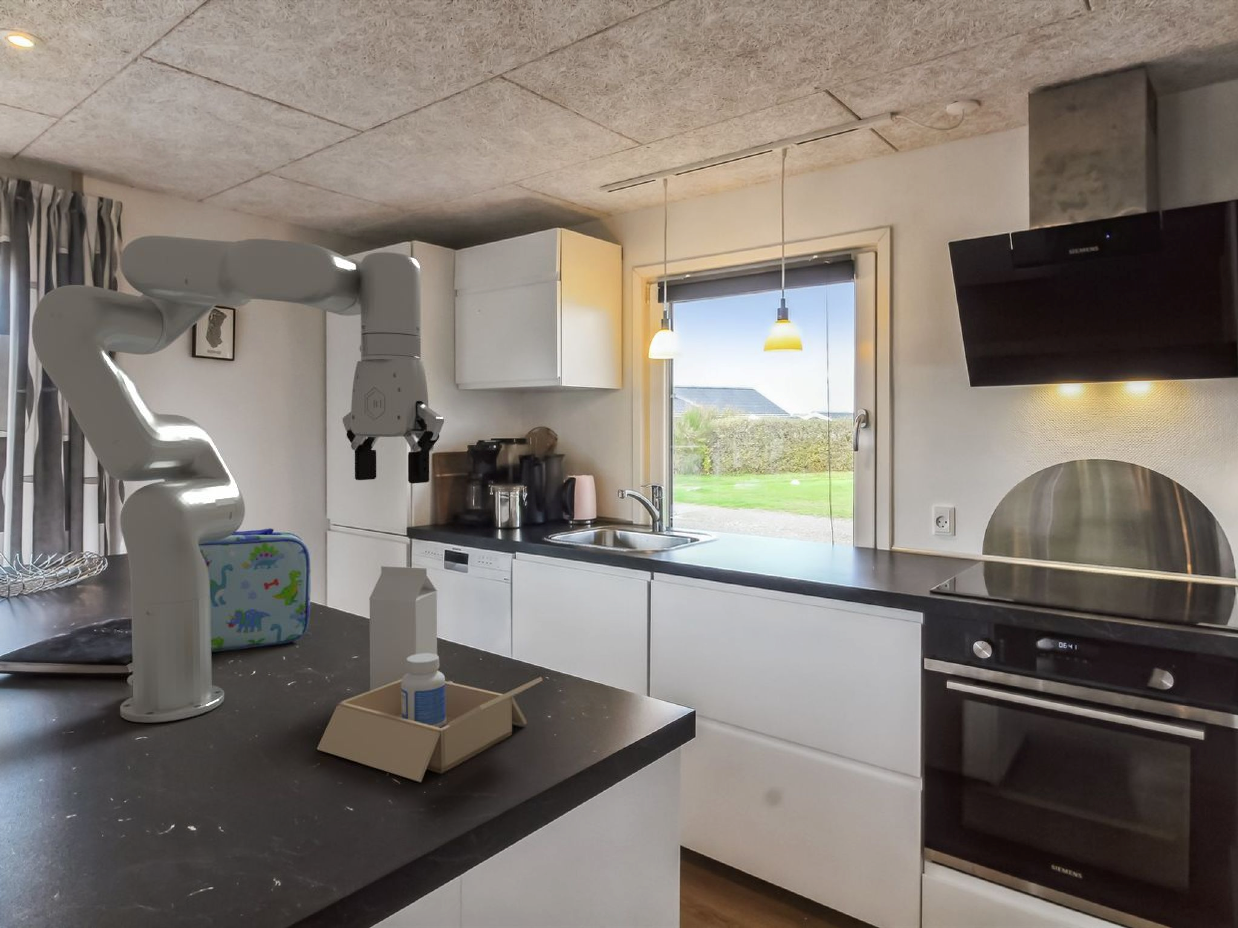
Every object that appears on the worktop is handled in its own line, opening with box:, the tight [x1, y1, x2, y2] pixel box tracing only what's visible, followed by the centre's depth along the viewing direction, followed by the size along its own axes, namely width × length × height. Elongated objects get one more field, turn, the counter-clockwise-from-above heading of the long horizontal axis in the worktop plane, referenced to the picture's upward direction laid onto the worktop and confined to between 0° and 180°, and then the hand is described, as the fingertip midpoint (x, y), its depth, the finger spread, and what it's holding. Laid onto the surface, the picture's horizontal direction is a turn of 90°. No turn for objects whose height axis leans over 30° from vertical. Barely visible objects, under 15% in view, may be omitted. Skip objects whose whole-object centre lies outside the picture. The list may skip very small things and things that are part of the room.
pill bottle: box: [401, 653, 446, 728], centre depth 98 cm, size 6×5×10 cm
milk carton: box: [369, 565, 438, 691], centre depth 113 cm, size 7×7×19 cm
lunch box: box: [199, 527, 312, 653], centre depth 138 cm, size 26×11×21 cm, turn 120°
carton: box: [316, 679, 528, 783], centre depth 98 cm, size 20×20×5 cm
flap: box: [448, 676, 544, 727], centre depth 92 cm, size 1×12×6 cm
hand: (391, 481), depth 102 cm, fingers open, 9 cm apart
